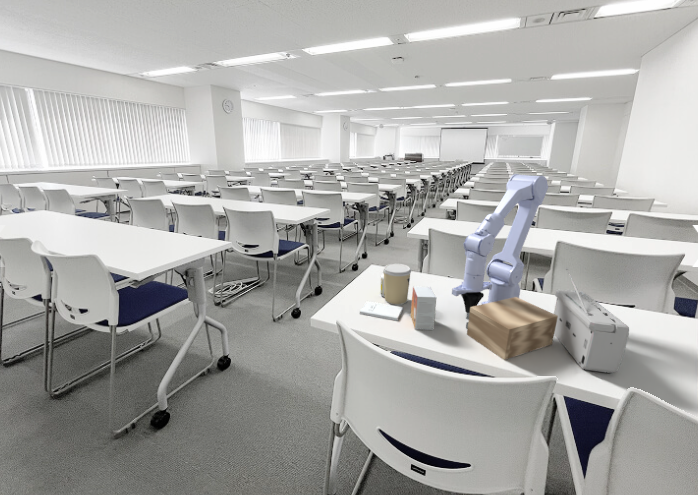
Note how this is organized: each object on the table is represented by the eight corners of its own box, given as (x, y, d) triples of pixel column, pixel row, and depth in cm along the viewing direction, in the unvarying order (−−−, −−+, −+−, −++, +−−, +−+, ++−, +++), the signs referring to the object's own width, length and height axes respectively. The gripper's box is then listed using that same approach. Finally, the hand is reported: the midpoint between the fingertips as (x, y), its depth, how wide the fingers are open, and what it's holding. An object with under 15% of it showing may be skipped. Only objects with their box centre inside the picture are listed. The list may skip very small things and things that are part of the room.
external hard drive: (397, 322, 101) (359, 315, 105) (402, 311, 108) (367, 304, 112) (397, 317, 100) (359, 310, 105) (403, 306, 108) (367, 300, 112)
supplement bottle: (398, 295, 118) (399, 269, 115) (388, 299, 115) (388, 273, 112) (387, 290, 122) (388, 265, 119) (377, 294, 119) (377, 269, 116)
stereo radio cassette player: (619, 377, 76) (641, 299, 71) (580, 373, 78) (599, 295, 72) (575, 331, 96) (590, 267, 91) (545, 328, 98) (558, 265, 92)
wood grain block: (511, 322, 101) (516, 296, 98) (551, 344, 89) (557, 315, 87) (466, 334, 94) (470, 307, 91) (504, 359, 82) (509, 329, 80)
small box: (410, 316, 103) (412, 285, 101) (428, 317, 103) (430, 286, 100) (414, 329, 96) (417, 296, 93) (433, 330, 96) (436, 297, 93)
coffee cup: (414, 303, 112) (415, 271, 108) (388, 307, 109) (389, 274, 106) (402, 292, 120) (403, 261, 117) (378, 295, 118) (379, 264, 114)
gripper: (482, 265, 107) (477, 303, 111) (447, 271, 101) (442, 311, 105) (499, 272, 101) (493, 312, 104) (463, 279, 95) (458, 321, 99)
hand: (469, 312), depth 104 cm, fingers closed
